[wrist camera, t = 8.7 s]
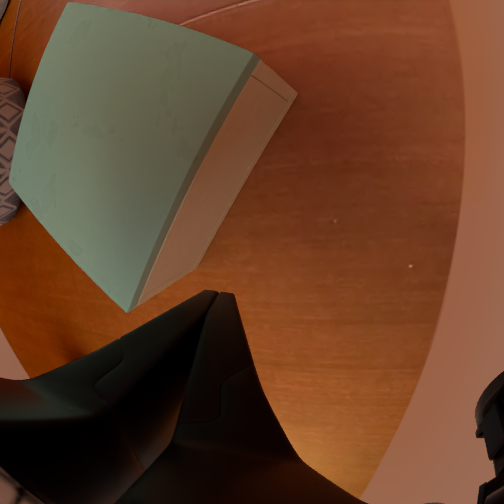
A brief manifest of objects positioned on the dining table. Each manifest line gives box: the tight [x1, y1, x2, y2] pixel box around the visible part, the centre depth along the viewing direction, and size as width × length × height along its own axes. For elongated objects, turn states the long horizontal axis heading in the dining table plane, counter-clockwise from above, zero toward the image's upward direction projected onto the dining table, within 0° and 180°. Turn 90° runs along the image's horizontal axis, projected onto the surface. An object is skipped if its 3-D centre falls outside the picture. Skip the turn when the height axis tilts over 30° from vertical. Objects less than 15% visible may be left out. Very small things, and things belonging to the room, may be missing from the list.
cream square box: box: [137, 59, 298, 307], centre depth 17 cm, size 14×14×7 cm
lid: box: [9, 2, 260, 313], centre depth 14 cm, size 14×14×1 cm
